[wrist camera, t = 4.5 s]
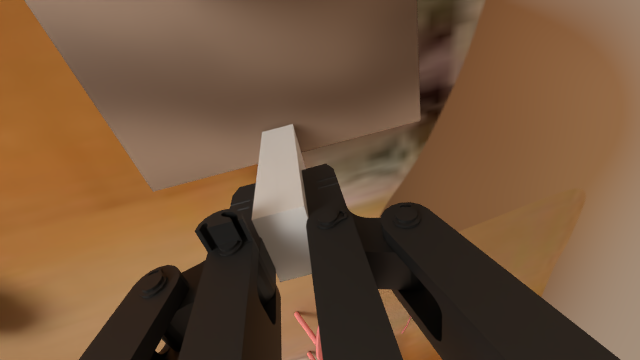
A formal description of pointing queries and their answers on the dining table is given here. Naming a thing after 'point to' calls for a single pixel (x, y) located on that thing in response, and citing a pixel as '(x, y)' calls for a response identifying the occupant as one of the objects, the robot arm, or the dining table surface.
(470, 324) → the robot arm
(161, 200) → the dining table surface
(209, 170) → the panel with push button
